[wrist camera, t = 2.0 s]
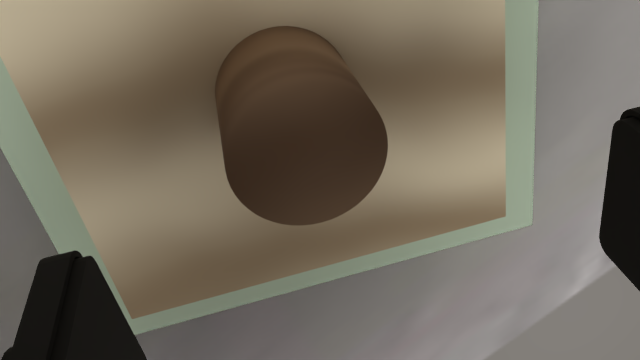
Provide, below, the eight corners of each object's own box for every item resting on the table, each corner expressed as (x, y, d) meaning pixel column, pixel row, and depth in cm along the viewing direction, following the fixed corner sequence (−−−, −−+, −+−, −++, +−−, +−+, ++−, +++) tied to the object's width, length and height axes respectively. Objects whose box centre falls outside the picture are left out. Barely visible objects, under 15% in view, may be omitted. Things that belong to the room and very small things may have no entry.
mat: (520, 210, 25) (532, 224, 24) (110, 323, 23) (107, 342, 22) (527, -317, 15) (547, -324, 14) (-157, -177, 14) (-178, -176, 13)
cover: (496, 204, 23) (564, 288, 19) (133, 303, 22) (123, 415, 18) (489, -237, 15) (602, -254, 11) (-72, -117, 14) (-171, -87, 10)
